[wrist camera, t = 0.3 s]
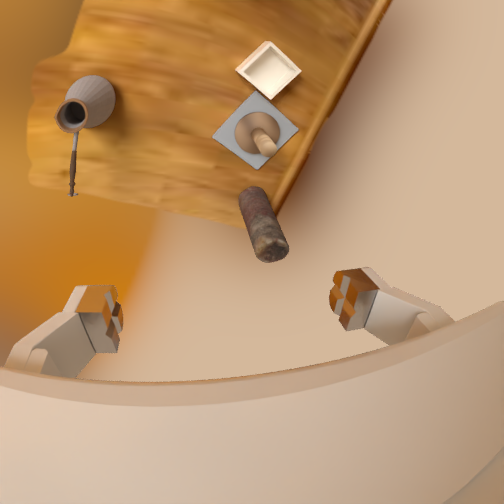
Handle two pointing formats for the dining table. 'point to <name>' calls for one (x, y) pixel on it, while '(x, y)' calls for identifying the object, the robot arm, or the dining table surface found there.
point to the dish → (268, 69)
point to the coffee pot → (84, 111)
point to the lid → (257, 133)
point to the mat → (249, 105)
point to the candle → (262, 226)
